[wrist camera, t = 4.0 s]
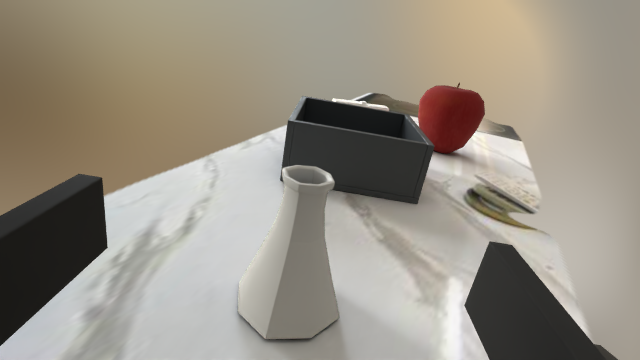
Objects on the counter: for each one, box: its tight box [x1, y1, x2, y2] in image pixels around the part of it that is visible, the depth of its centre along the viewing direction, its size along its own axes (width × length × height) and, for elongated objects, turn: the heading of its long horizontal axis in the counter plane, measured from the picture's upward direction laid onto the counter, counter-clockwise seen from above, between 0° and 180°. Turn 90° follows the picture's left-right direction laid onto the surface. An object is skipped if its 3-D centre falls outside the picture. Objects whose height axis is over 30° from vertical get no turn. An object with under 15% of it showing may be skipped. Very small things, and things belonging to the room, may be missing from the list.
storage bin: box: [280, 96, 435, 204], centre depth 52 cm, size 18×18×8 cm
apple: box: [418, 83, 485, 154], centre depth 70 cm, size 12×12×13 cm
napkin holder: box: [333, 99, 389, 111], centre depth 76 cm, size 15×11×6 cm
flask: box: [238, 165, 339, 339], centre depth 24 cm, size 7×7×10 cm
